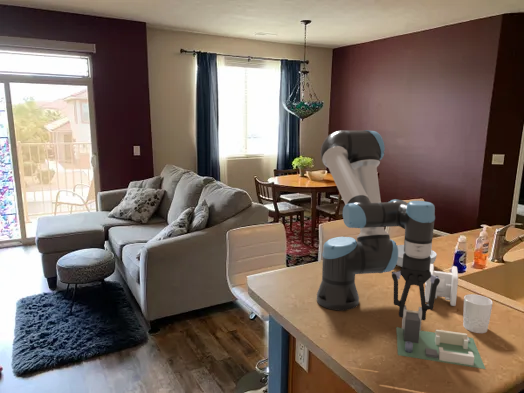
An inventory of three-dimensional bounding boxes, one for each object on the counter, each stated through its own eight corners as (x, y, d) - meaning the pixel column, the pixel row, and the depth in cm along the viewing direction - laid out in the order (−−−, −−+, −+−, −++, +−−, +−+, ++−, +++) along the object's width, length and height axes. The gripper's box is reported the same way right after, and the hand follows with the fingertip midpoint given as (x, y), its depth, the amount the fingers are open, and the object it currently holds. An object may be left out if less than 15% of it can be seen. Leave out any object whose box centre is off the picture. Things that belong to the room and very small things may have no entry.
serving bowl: (387, 256, 194) (387, 242, 192) (433, 260, 187) (434, 246, 186) (386, 271, 174) (387, 256, 173) (437, 276, 168) (439, 261, 167)
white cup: (464, 320, 131) (467, 291, 129) (491, 327, 126) (494, 298, 124) (458, 329, 125) (461, 300, 123) (486, 338, 120) (489, 307, 118)
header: (439, 360, 108) (440, 348, 108) (434, 340, 118) (435, 329, 118) (473, 365, 106) (474, 353, 105) (465, 344, 116) (466, 333, 115)
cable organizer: (455, 310, 138) (458, 279, 136) (423, 305, 142) (425, 274, 140) (454, 293, 151) (457, 265, 149) (424, 289, 155) (427, 261, 153)
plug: (404, 341, 118) (405, 318, 116) (403, 331, 123) (404, 309, 122) (418, 343, 116) (420, 320, 115) (416, 333, 122) (418, 311, 121)
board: (397, 356, 111) (398, 347, 110) (396, 328, 126) (396, 320, 125) (485, 370, 104) (486, 360, 104) (472, 339, 119) (473, 330, 119)
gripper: (387, 255, 114) (382, 329, 118) (450, 261, 109) (442, 338, 114) (386, 247, 121) (382, 318, 126) (446, 253, 116) (439, 325, 121)
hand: (411, 327), depth 120 cm, fingers closed on plug, 4 cm apart
